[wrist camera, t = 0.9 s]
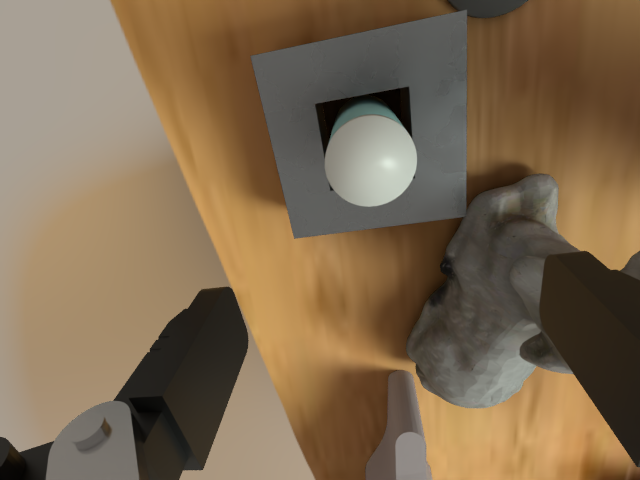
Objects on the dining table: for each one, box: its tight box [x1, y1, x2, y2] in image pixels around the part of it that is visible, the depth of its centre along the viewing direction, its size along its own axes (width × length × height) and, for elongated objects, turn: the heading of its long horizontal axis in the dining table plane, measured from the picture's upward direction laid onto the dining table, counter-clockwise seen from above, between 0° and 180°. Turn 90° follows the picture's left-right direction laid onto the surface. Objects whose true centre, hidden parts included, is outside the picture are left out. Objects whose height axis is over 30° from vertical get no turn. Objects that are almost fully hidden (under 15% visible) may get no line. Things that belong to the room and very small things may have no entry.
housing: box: [251, 10, 467, 239], centre depth 24 cm, size 12×12×5 cm
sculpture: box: [406, 174, 640, 408], centre depth 26 cm, size 11×21×15 cm, turn 1°
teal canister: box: [325, 95, 417, 207], centre depth 22 cm, size 5×5×10 cm
